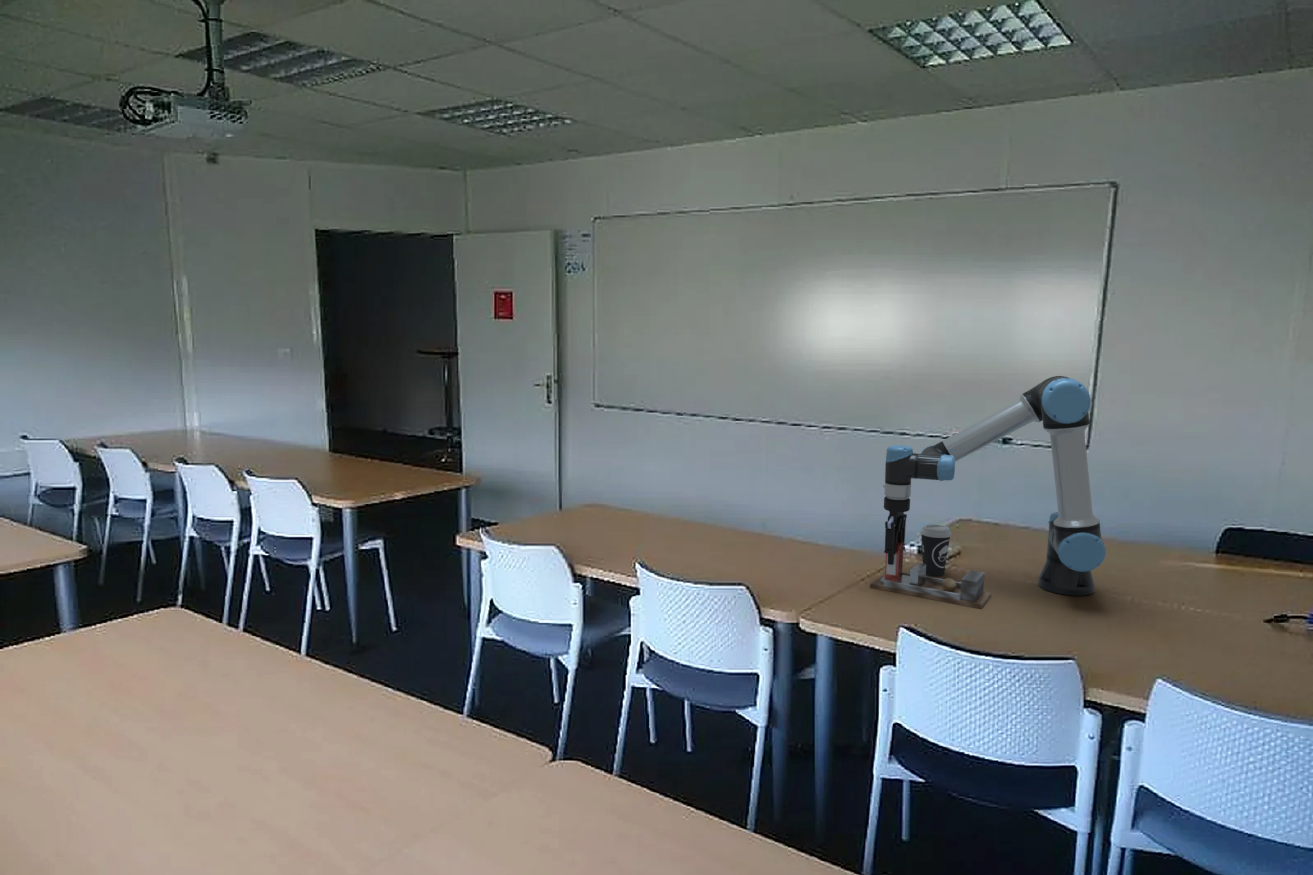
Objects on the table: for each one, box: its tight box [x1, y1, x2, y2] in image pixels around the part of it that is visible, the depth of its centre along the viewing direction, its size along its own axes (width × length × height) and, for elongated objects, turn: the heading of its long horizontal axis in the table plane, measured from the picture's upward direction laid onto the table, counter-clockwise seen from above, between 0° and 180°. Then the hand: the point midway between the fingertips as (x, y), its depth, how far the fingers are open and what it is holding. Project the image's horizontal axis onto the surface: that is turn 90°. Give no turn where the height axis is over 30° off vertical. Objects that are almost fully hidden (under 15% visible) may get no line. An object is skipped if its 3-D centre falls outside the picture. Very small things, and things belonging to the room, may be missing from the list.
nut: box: [942, 577, 957, 592], centre depth 237 cm, size 4×4×4 cm
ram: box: [881, 541, 927, 586], centre depth 244 cm, size 11×8×12 cm
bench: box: [869, 570, 992, 610], centre depth 240 cm, size 32×12×7 cm, turn 56°
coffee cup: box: [919, 523, 953, 577], centre depth 258 cm, size 10×10×15 cm
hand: (893, 572), depth 246 cm, fingers closed on ram, 4 cm apart
